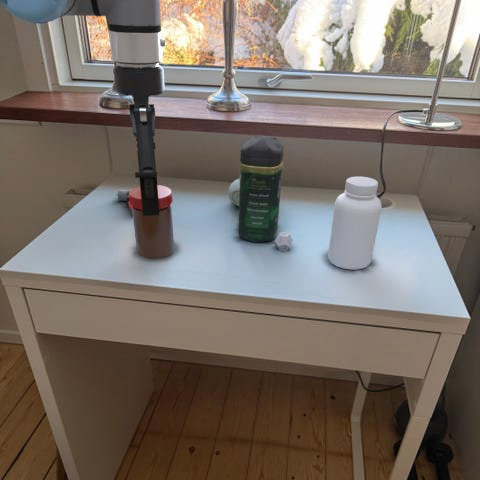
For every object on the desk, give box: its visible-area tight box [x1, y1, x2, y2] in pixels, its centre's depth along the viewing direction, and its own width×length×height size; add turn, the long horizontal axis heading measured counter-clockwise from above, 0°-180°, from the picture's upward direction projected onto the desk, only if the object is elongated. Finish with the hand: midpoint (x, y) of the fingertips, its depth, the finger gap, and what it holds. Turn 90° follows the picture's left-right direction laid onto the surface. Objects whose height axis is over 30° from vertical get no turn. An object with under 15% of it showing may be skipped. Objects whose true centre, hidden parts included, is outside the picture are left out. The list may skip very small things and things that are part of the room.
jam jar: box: [131, 204, 175, 259], centre depth 85 cm, size 7×7×11 cm
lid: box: [129, 184, 173, 210], centre depth 82 cm, size 8×8×2 cm
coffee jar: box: [237, 135, 285, 243], centre depth 90 cm, size 10×8×19 cm
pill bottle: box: [327, 175, 383, 271], centre depth 82 cm, size 8×8×15 cm
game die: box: [274, 231, 294, 251], centre depth 89 cm, size 4×4×3 cm
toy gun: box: [115, 189, 132, 212], centre depth 104 cm, size 10×12×5 cm
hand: (149, 199), depth 83 cm, fingers open, 13 cm apart
